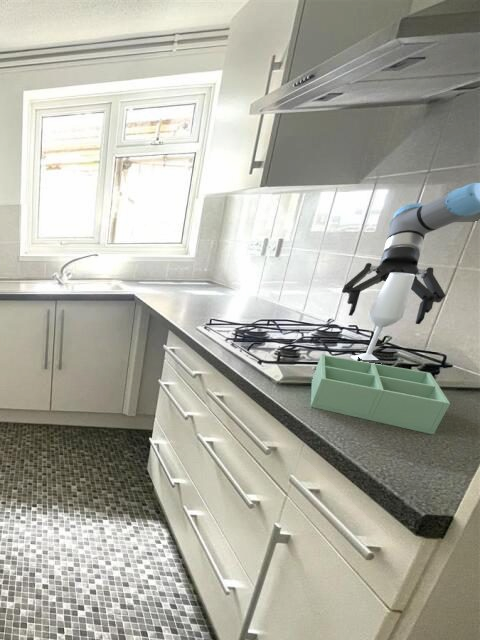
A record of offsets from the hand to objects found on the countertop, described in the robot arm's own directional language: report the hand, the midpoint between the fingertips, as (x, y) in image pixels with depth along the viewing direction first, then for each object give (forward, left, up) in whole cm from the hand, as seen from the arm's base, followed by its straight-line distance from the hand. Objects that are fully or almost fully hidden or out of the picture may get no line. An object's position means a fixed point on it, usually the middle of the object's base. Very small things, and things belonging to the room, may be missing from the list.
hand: (384, 317), depth 112 cm
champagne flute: (0, -1, -13) cm, 13 cm away
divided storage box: (+2, +36, -13) cm, 38 cm away
